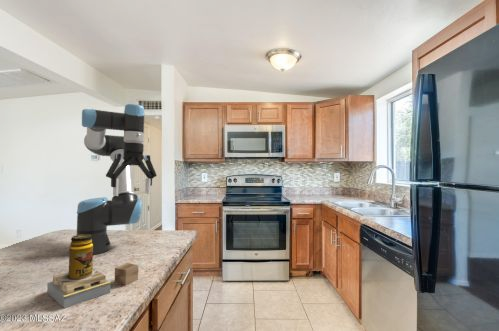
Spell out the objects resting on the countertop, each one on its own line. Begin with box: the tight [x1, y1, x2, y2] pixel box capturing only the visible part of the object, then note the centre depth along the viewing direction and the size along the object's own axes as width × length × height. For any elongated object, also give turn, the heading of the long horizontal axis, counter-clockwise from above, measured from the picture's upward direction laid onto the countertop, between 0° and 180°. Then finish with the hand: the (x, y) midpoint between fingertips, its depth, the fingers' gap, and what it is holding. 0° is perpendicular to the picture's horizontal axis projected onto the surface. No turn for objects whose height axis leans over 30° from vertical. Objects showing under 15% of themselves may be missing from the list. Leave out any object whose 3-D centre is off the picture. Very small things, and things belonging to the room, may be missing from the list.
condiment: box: [56, 234, 98, 282], centre depth 79 cm, size 7×8×12 cm
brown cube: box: [114, 262, 139, 286], centre depth 88 cm, size 5×5×5 cm
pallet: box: [52, 268, 107, 294], centre depth 79 cm, size 12×10×2 cm
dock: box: [46, 279, 112, 309], centre depth 79 cm, size 14×12×3 cm
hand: (132, 194), depth 108 cm, fingers open, 13 cm apart
